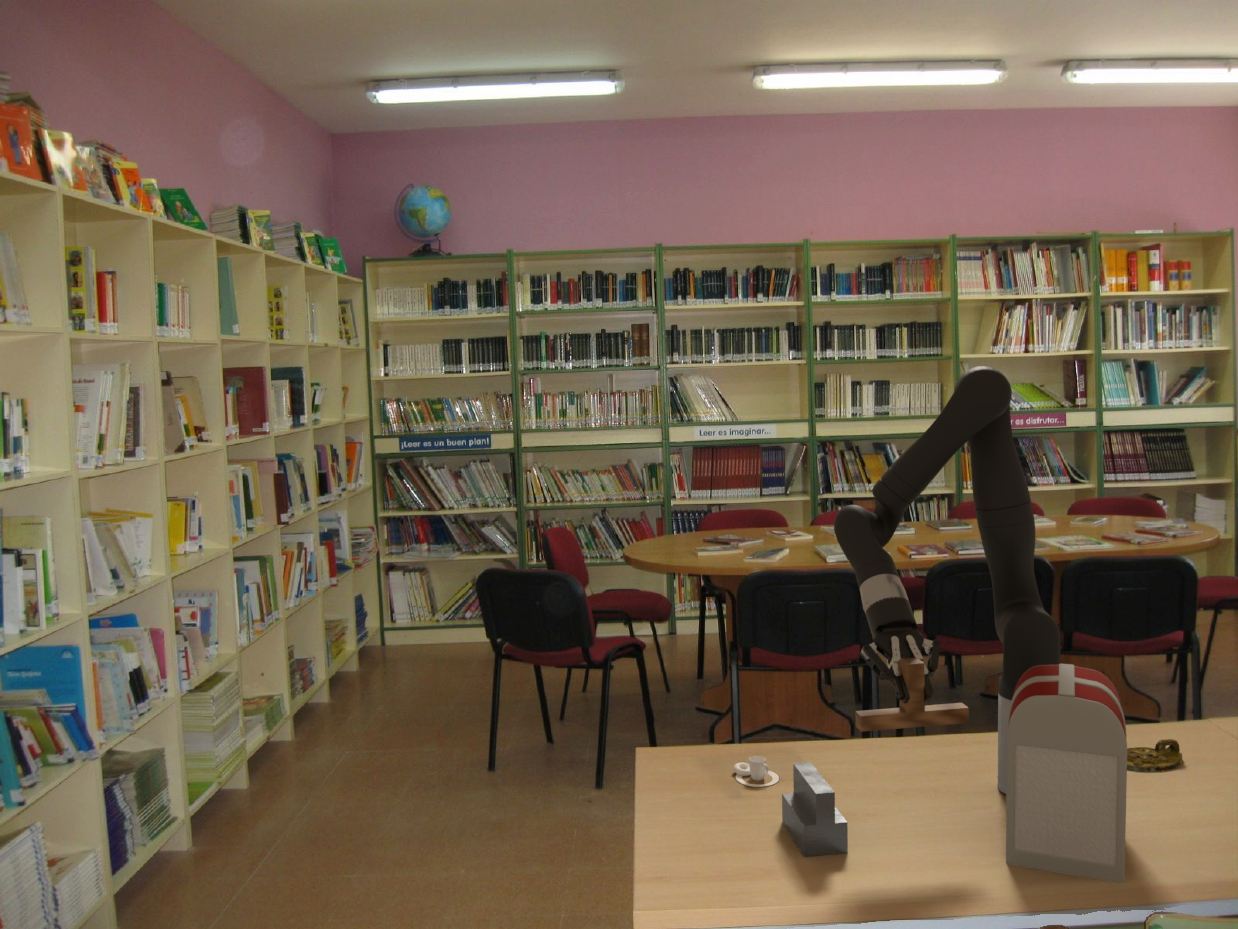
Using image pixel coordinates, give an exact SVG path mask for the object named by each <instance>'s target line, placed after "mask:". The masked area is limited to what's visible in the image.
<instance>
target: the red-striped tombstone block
mask: <svg viewBox="0 0 1238 929" xmlns="http://www.w3.org/2000/svg"><path fill="white" fill-rule="evenodd" d="M1125 719H1126V718H1125V714H1124V710H1123V707H1122V702H1121V698H1120V696H1119V693H1118V691H1117V689H1116V687H1115V685H1114V683H1113V682H1112V681H1111V680H1110V679H1109V677H1107V676H1106V675H1105V674H1103V673H1102V672H1100V671H1098V670H1096V669H1092V668H1087V667H1081V666H1076V665H1075V664H1071V663H1060V664H1059V665H1038V666H1034V667H1032V668H1030V669H1028V670H1027V671H1026V672H1025V673H1024V674H1023V675H1022V676H1021V678H1020V679H1019V681H1018V683H1017V685H1016V687H1015V690H1014V694H1013V698H1012V701H1011V704H1010V710H1009V715H1008V730H1007V784H1006V794H1005V795H1006V798H1005V799H1006V800H1005V801H1006V802H1005V803H1006V805H1005V809H1006V810H1005V812H1006V814H1005V815H1006V816H1005V863H1006V864H1008V865H1011V866H1018V867H1023V868H1030V869H1037V870H1042V871H1046V872H1047V871H1048V872H1054V873H1061V874H1066V875H1072V876H1077V877H1085V878H1090V879H1096V880H1101V881H1108V882H1115V883H1120V884H1121V883H1125V881H1126V880H1125V874H1126V873H1125V872H1126V834H1127V833H1126V830H1127V829H1126V828H1127V822H1126V820H1127V789H1128V788H1127V785H1128V784H1127V783H1128V781H1127V780H1128V779H1127V777H1128V774H1127V773H1128V770H1127V748H1128V742H1127V725H1126V720H1125Z"/></svg>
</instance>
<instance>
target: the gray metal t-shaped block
mask: <svg viewBox="0 0 1238 929" xmlns="http://www.w3.org/2000/svg"><path fill="white" fill-rule="evenodd" d="M792 771H793V792H783V793H782V792H781V810H782V811H781V812H782V813H781V814H782V817H781V818H782V824H783V826H784V827H785V829H786V831H787V832H788V834H789V835H790V837H791V838H792V840H793V842H794V843H795V845H796V846H797V848H798V850H799V851H800V853H801V854H802V856H803V857H804V858H807V857H817V856H818V857H819V856H829V855H840V854H848V850H849V849H848V846H849V845H848V844H849V843H848V840H849V839H848V838H849V837H848V835H849V832H848V820H846V818H845V817H844V815H843V814H842V813H841V812H840V810H839V809H838V808H837V807H836V796H835V795H836V794H835V790H833V788H832V787H831V785H830V784H829V783H828V782H827V781H826V780H825V778H824V777H823V775H822V774H821V773H820V772H819V770H818V769H817V768H816V767H815V765H814V764H813V763H812V762H811V761H807V762H797V763H795V762H794V763H793V769H792Z"/></svg>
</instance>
